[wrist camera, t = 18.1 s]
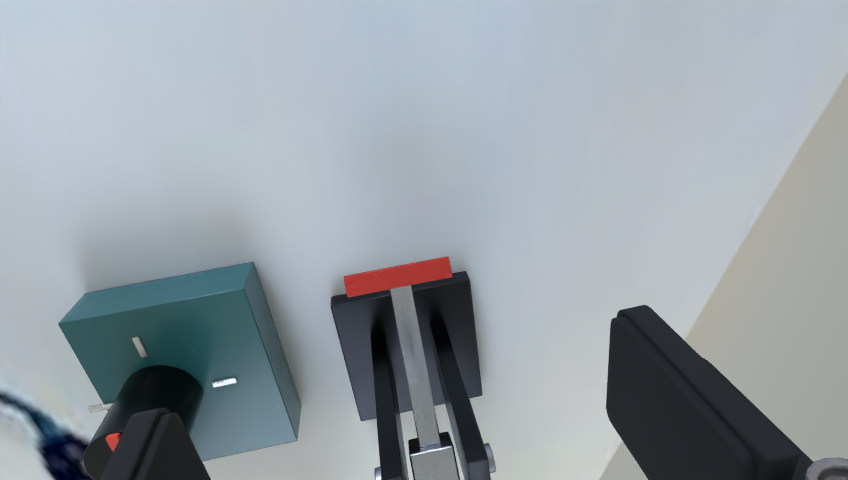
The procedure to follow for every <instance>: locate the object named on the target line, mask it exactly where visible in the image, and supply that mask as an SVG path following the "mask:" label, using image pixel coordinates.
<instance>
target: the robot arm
mask: <svg viewBox="0 0 848 480" xmlns="http://www.w3.org/2000/svg"><path fill="white" fill-rule="evenodd" d="M606 409H607V414H608V417H609V419H610V421H611V423H612V425H613V426H614V428H615V429H616V431H617V433H618V434H619V436H620V437H621V439H622V440H623V442H624V443H625V445H626V446H627V448H628V449H629V451H630V452H631V454H632V455H633V457H634V458H635V460H636V461H637V463H638V464H639V466H640V467H641V469H642V470H643V472H644V474H645V475H646V477H647V478H648V480H848V459H844V458H824V459H821V460H818V461H816V462H813V461H812V460H811V459H810V458H809V457H808V456H806V454H804V453H803V452H802V451H801V450H800V449H799V448H798V447H797V446H796V445H795V444H794V443H793V442H792V441H791V440H790V439H789V438H788V437H787V436H786V435H785V434H784V433H783V432H782V431H781V430H779V429H778V428H777V427H776V426H775V425H774V424H773V423H772V422H771V421H770V420H769V419H768V418H767V417H766V416H765V415H764V414H763V413H762V412H761V411H760V410H759V409H758V408H757V407H756V406H755V405H754V404H752V403H751V402H750V401H749V400H748V399H747V398H746V397H745V396H744V395H743V394H742V393H741V392H740V391H739V390H738V389H737V388H736V387H735V386H734V385H733V384H732V383H731V382H730V381H729V380H728V379H727V378H726V377H724V376H723V375H722V374H721V373H720V372H719V371H718V370H717V369H716V368H715V367H714V366H713V365H712V364H711V363H710V362H708V361H707V360H705V359H704V358H702V357H701V356H700V355H698V353H696V352H695V351H694V350H693V349H692V348H691V347H690V346H689V345H688V344H687V343H686V342H685V341H684V340H683V339H682V338H681V337H680V336H679V335H678V334H677V333H676V332H675V331H674V330H673V329H672V328H671V327H670V326H669V325H668V324H667V323H666V322H665V321H664V320H662V319H661V318H660V317H659V316H658V315H657V314H656V313H655V312H654V311H653V310H652V309H651V308H650V307H648V306H646V305H642V306H637V307H632V308H628V309H623V310H620V311H619V312H618V314H617V318H614V319H612V321H611V328H610V346H609V364H608V382H607V401H606ZM100 480H211V479H210V477H209V475H208V473H207V471H206V469H205V467H204V465H203V463H202V461H201V459H200V457H199V455H198V453H197V451H196V448H195V446H194V444H193V442H192V440H191V438H190V436H189V434H188V432H187V430H186V428H185V426H184V424H183V422H182V420H181V418H180V416H179V415H178V414H177V413H170V411H169V410H168V409H167V408H158V409H153V410H149V411H144V412H139V413H135V414H133V415H132V416H131V418H130V419H129V421H128V423H127V425H126V427H125V429H124V431H123V433H122V435H121V437H120V439H119V441H118V443H117V445H116V447H115V449H114V452H113V454H112V456H111V458H110V460H109V462H108V464H107V466H106V468H105V470H104V472H103V474H102V476H101V478H100Z"/></svg>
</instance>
